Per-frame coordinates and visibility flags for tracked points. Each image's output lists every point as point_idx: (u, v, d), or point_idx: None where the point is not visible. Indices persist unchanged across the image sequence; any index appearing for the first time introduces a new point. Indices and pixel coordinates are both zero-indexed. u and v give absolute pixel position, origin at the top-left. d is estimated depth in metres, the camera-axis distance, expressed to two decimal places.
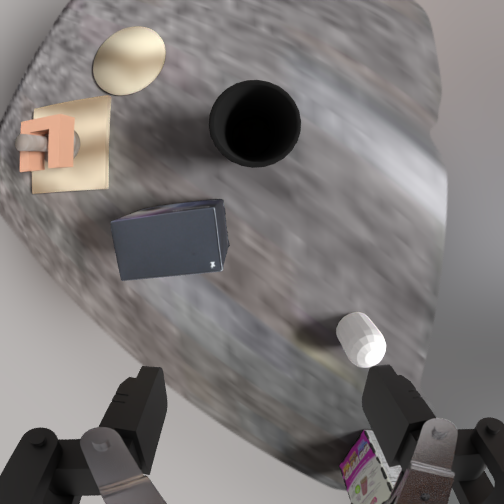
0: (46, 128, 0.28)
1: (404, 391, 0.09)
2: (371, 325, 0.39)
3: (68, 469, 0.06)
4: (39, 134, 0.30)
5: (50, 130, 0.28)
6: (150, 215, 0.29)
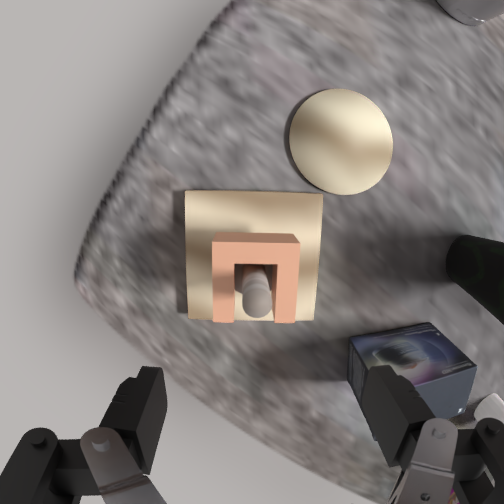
0: (271, 262, 0.22)
1: (404, 391, 0.09)
2: None
3: (68, 469, 0.06)
4: None
5: (280, 267, 0.22)
6: (425, 382, 0.23)
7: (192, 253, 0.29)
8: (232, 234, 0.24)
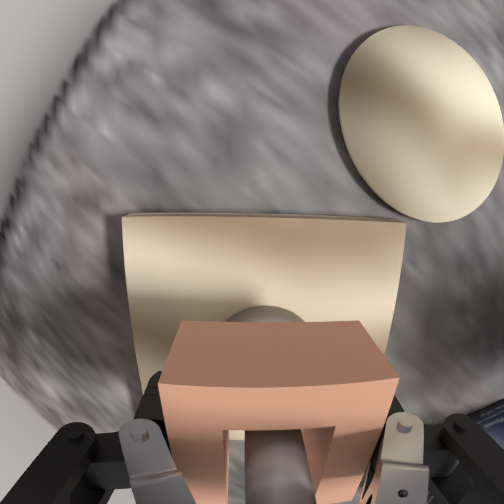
0: (319, 423, 0.08)
1: None
2: None
3: (102, 466, 0.06)
4: None
5: (341, 430, 0.08)
6: None
7: (145, 338, 0.14)
8: (218, 334, 0.10)
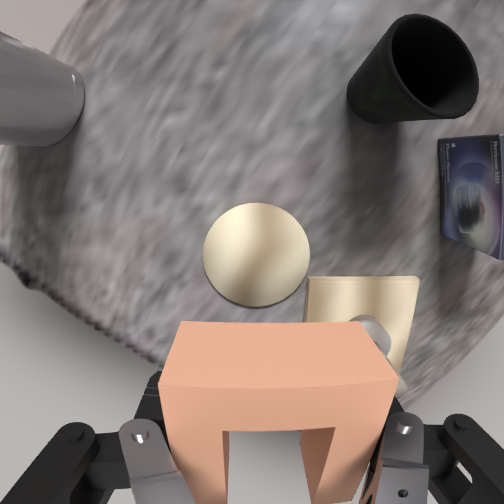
0: (319, 423, 0.08)
1: None
2: None
3: (102, 466, 0.06)
4: None
5: (341, 431, 0.08)
6: (501, 210, 0.20)
7: None
8: (218, 335, 0.10)
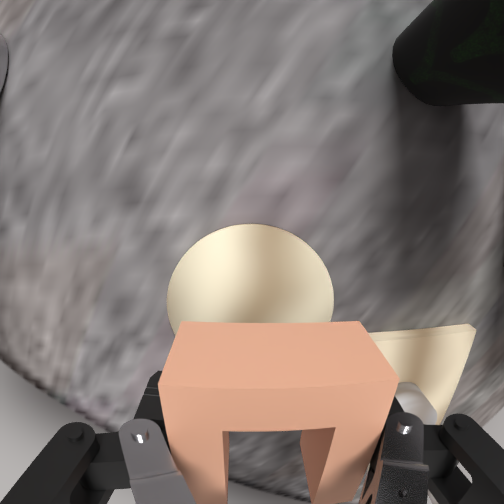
0: (319, 424, 0.08)
1: None
2: None
3: (102, 466, 0.06)
4: None
5: (341, 431, 0.08)
6: None
7: None
8: (218, 335, 0.10)
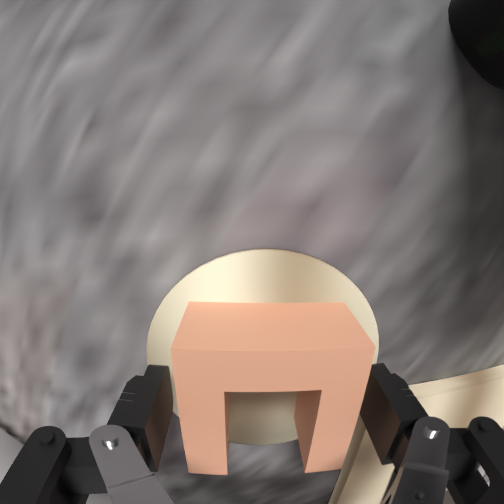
0: (307, 386, 0.09)
1: (397, 389, 0.09)
2: None
3: (76, 468, 0.06)
4: None
5: (327, 394, 0.09)
6: None
7: None
8: (221, 311, 0.11)
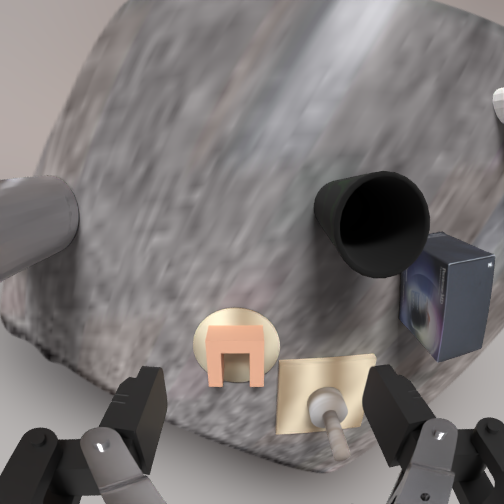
0: (245, 352, 0.32)
1: (404, 391, 0.09)
2: None
3: (68, 469, 0.06)
4: None
5: (251, 355, 0.33)
6: (442, 325, 0.26)
7: (316, 428, 0.39)
8: (219, 329, 0.35)
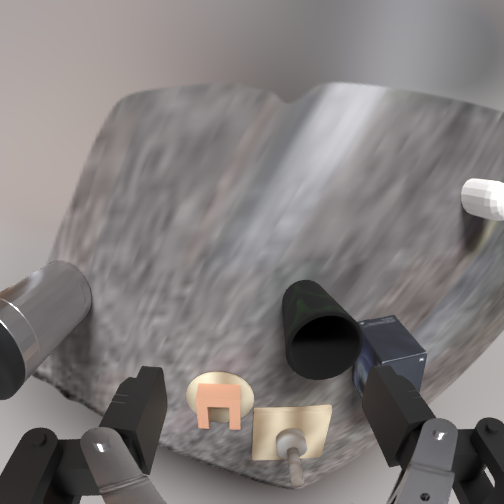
0: (225, 406, 0.40)
1: (404, 391, 0.09)
2: (479, 192, 0.34)
3: (68, 469, 0.06)
4: None
5: (230, 408, 0.40)
6: None
7: None
8: (206, 387, 0.42)
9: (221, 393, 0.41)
